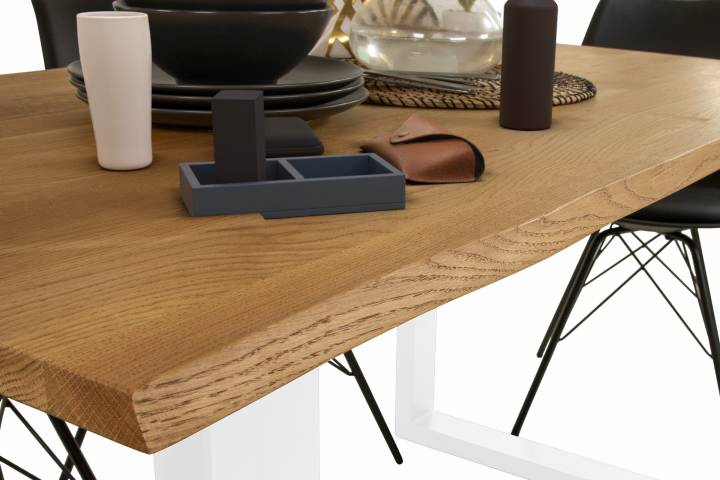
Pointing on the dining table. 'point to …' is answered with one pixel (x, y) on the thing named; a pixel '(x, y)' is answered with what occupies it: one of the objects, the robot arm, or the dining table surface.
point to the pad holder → (297, 187)
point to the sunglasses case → (428, 152)
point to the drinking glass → (118, 85)
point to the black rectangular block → (239, 136)
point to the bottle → (528, 64)
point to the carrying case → (290, 138)
